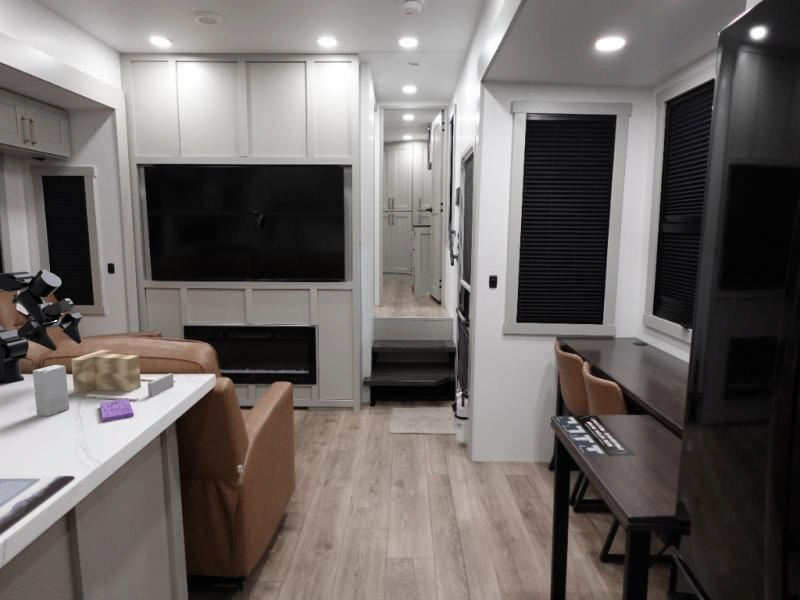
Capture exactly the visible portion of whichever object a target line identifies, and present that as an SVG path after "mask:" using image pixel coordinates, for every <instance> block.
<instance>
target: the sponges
mask: <svg viewBox="0 0 800 600" xmlns="http://www.w3.org/2000/svg"><path fill="white" fill-rule="evenodd" d="M99 405H100V406H99V407H100V412H101V413H100V414H101V419H102V422H103V423H104V422H105V423H106V422H107V421H108V422H112V420H113V421H117V420H121V419H122V418H123V419H128V418H127V417H129V418H133V416H135V414H134V410H133V407H132V404H131V402H130V400H129V398H125V399H120V400H118V399H113V400H111V401H110V400H109V401H104V402H99Z"/></svg>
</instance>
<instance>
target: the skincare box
mask: <svg viewBox="0 0 800 600" xmlns="http://www.w3.org/2000/svg"><path fill="white" fill-rule="evenodd" d="M66 368H67V367H66V366H65V365H62V364H61V365H60V364H53V365H49V366H46V367H42V368H38V369H33V370H32V378H33V379H32V380H33V388H34V398H35V408H36V414H37V415H39V416H42V415H43V417H50V416H53V415H55V414H57V413H58V412H59V413H61V412H64V411H67V410H70V399H69V389H68V388H69V387H68V378H67V369H66Z"/></svg>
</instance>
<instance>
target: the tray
mask: <svg viewBox="0 0 800 600" xmlns="http://www.w3.org/2000/svg"><path fill="white" fill-rule="evenodd" d="M140 380H141V381H142V380H145V381H144V382H147V395H148V397H149V396H153V397H155V396H156V394H157V395H159V394H160V392H161V393H162V392H164V391H167V390H169V389H170V388H173V387H174V386H175V385H174V384H175V383H176V379H174V374H173V373H171V372H170V373H167V374H165V375H162V376H160V377H158V378H153V377H140ZM158 393H159V394H158ZM154 395H155V396H154ZM92 397H96V398H95V399H105V398H107V399H109V400H117V401H118V400H120V399H125V398H129V401H130V400H131V401H133V402H138V401H139V397H133V396H120V395H110V394H109V395H107V394H95V393H87V394H86V398H92ZM107 399H106V400H107Z"/></svg>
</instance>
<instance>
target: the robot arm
mask: <svg viewBox="0 0 800 600" xmlns="http://www.w3.org/2000/svg"><path fill="white" fill-rule="evenodd" d="M61 285H62V279H61V278H60V277H59V276H57V275H56V274H55V273H53V272H49V271H48V270H47V269H39V271H38V272H37V273H36V275H35V276H34V275H31V273H30V272H28V271H16V272H4V273H3V272H2V273H1V272H0V290H1V291H5V292H6V293H7V292H9V293H11V292H19V293H17V294H13V298H12V302H11V303H12V304H13V305H15V304H20V305H22V307H23V309H24V310H25V311H26V312H27V314H26V315H25V316H26V318H27V319H32V320H29V321H26V322H24V324H22V326H21V327H20V328H18V329H11V330H6V329H5V328H4V327H3V326H1V325H0V384H5V383H12V382H18V381H23V380H25V377H24V376H23V375H22V373H21V364H20V360H23V359H26V358H27V355H28V351H29V346H30V345H29V341H31V342H33V343H35V344H38V345H40V346H42V347H44V348H46V349H48V350H51V351H53V352H56V351H57V350H58V348H57V346H56V344H55V343H54V341H53V340H52V338H51V337H50V335H49V334H48V332H47V329H50V328H54V327H59V328H60V329H62V333H64V334H65V335H66V336H68V337H69V338H70V339H71V340H72V341H74V342H75V343H76V344H78V345H80V344H81V343H82V338H81V335H80V332H79V323H80V322H81V321H82V319H83V315H82V314H81V313H80V311H79V312H77V311H74V312H72V311H73V310H72V309H73V308H74V307H75V306H74V304H75V303H73V301H72V300H71V299H70V298H64V299H61V300H60V301H58V302H55V303H53V302H48V301H47V300H46V299H45V298H49V297H50V296H51V295H52V294H53V293H54V292H56V290H57V289H58V288H59V287H61ZM66 312H68V313H66ZM64 313H66V314H65V315H64ZM63 315H64V316H63ZM62 316H63V317H62Z"/></svg>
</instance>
